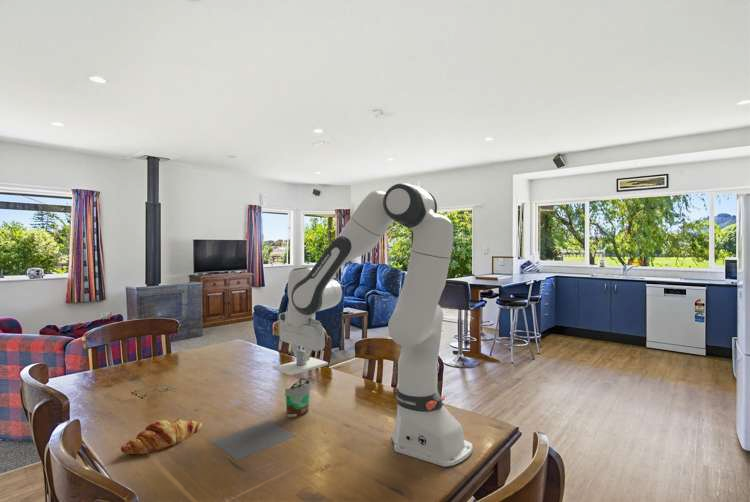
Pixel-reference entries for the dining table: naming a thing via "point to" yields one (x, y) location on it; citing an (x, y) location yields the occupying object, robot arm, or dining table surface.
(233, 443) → the mat
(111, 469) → the dining table surface
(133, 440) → the croissant
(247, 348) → the dining table surface
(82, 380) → the dining table surface
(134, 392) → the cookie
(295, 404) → the food container
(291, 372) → the lid
